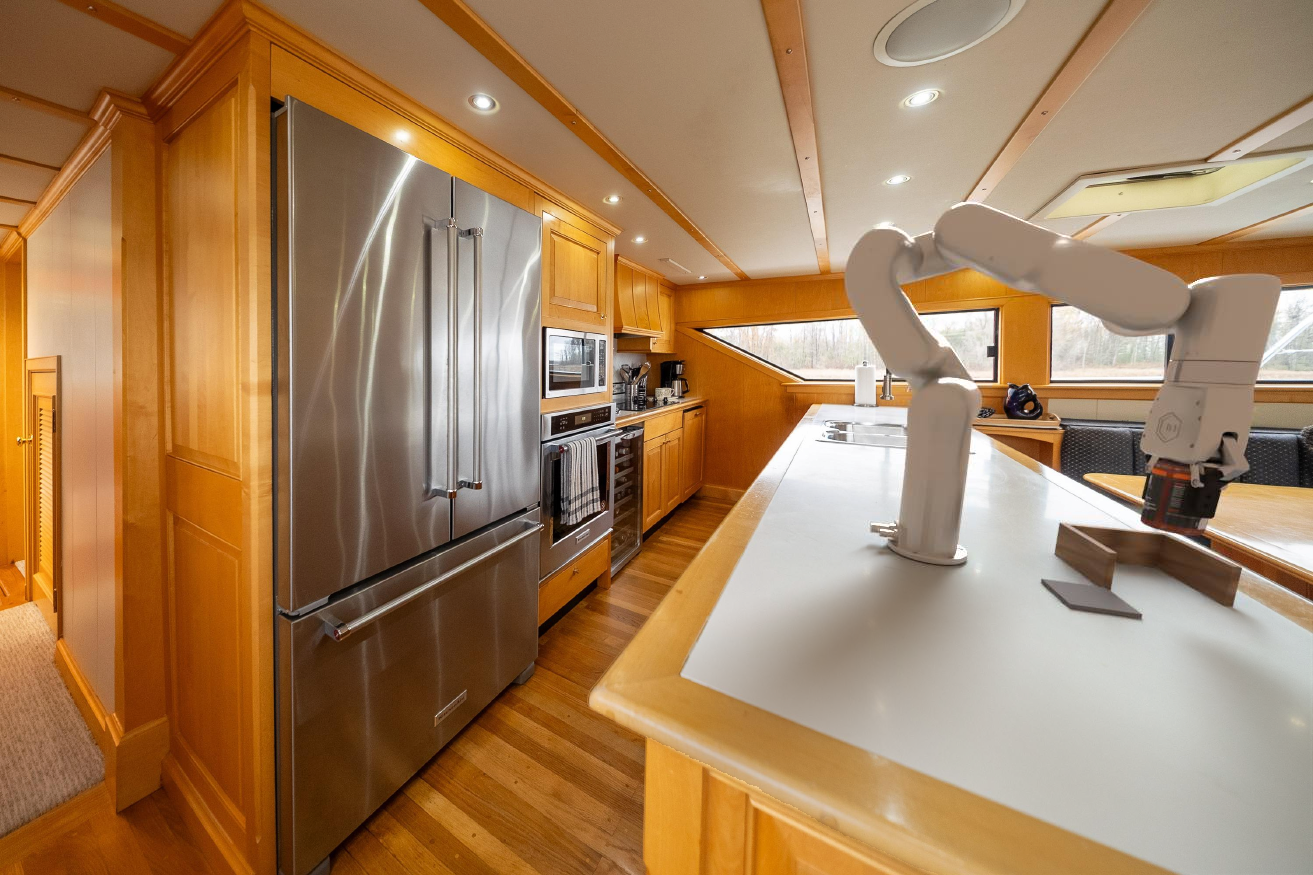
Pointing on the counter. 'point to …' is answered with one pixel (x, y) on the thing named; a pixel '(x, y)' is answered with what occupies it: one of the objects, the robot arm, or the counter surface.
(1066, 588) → the mat
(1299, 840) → the counter surface
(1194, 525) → the supplement bottle
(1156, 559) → the angled wooden boards
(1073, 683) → the counter surface
